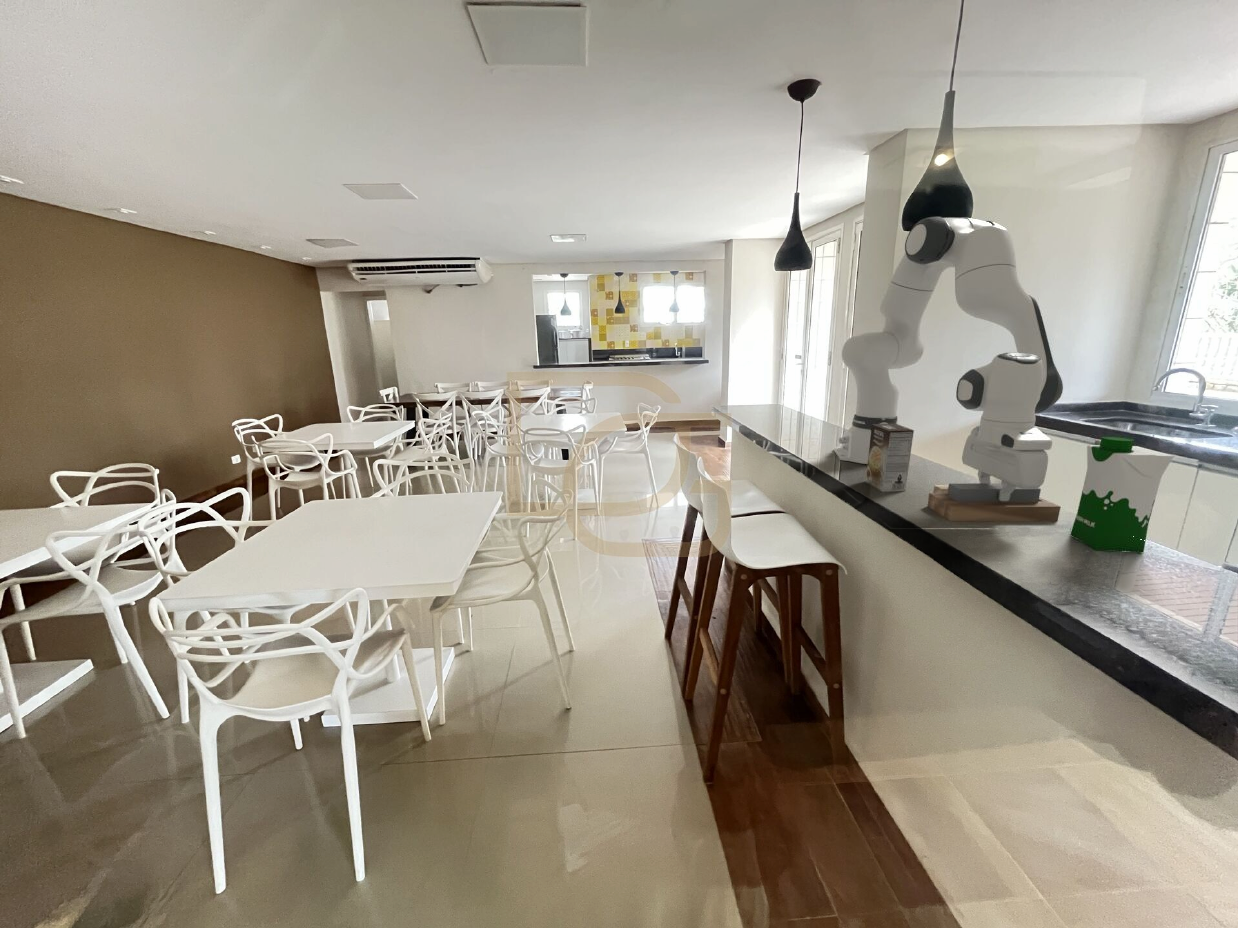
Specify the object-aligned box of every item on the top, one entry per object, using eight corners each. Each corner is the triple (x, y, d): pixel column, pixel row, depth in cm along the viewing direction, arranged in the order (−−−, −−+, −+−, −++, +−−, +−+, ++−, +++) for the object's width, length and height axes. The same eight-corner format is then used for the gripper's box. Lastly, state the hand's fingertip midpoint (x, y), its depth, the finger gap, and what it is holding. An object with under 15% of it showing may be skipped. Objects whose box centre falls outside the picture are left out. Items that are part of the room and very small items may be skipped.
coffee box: (864, 482, 129) (870, 423, 125) (888, 481, 129) (895, 423, 124) (881, 492, 120) (888, 430, 116) (907, 492, 120) (915, 429, 116)
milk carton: (1061, 533, 94) (1083, 433, 88) (1115, 535, 92) (1142, 433, 87) (1094, 552, 85) (1121, 443, 80) (1155, 555, 83) (1186, 444, 78)
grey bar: (945, 505, 106) (949, 480, 105) (1022, 505, 105) (1027, 480, 103) (956, 512, 102) (960, 486, 101) (1036, 512, 101) (1041, 486, 99)
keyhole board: (927, 507, 109) (929, 493, 108) (1025, 507, 107) (1027, 492, 106) (950, 522, 100) (952, 506, 99) (1057, 522, 99) (1060, 506, 98)
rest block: (932, 494, 117) (934, 485, 117) (963, 494, 117) (964, 484, 116) (939, 498, 114) (941, 488, 114) (970, 498, 114) (972, 488, 113)
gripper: (958, 424, 109) (950, 481, 113) (1024, 443, 90) (1010, 512, 93) (988, 424, 109) (978, 481, 112) (1060, 443, 89) (1045, 512, 93)
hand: (993, 495), depth 103 cm, fingers open, 4 cm apart
